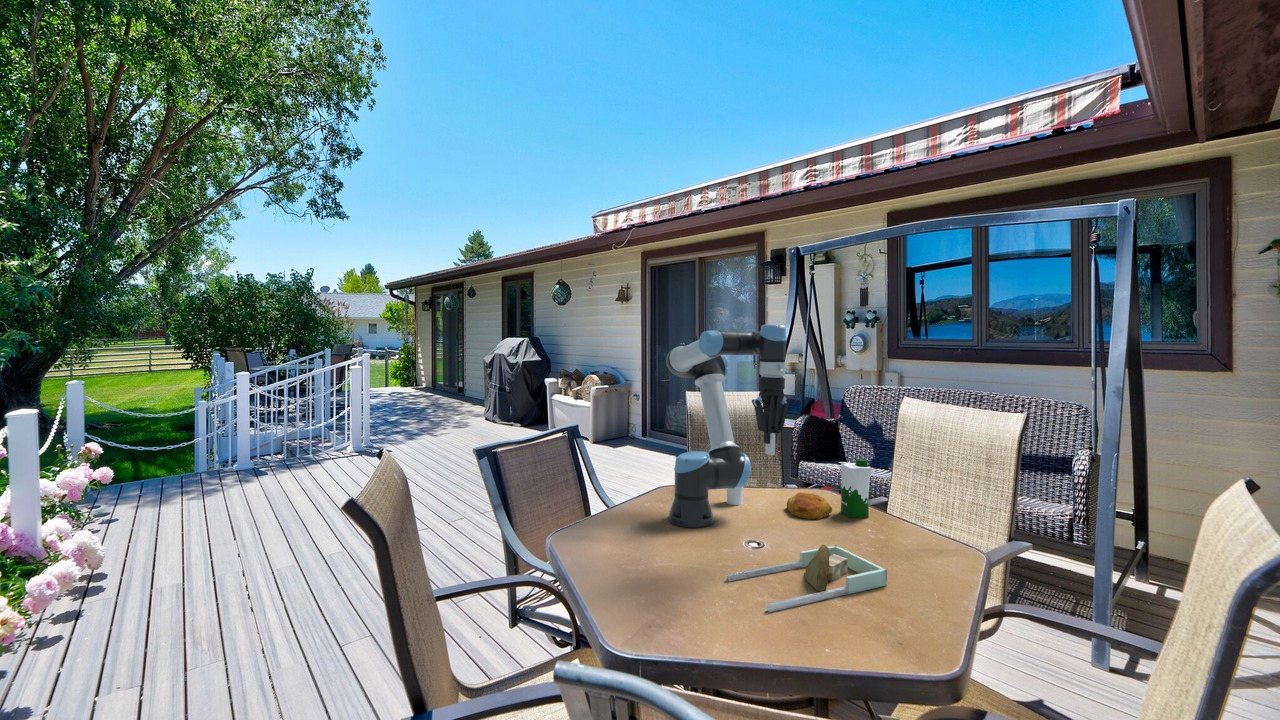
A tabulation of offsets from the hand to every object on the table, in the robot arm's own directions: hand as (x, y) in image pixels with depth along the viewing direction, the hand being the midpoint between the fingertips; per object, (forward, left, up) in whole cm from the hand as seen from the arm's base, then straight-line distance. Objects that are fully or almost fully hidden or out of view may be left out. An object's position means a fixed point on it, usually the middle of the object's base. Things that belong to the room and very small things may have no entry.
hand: (770, 454), depth 164 cm
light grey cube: (+13, -20, -29) cm, 37 cm away
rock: (+8, -24, -29) cm, 38 cm away
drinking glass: (-4, +44, -29) cm, 53 cm away
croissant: (+21, +34, -29) cm, 49 cm away
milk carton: (+38, +34, -29) cm, 59 cm away
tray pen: (+16, -19, -28) cm, 37 cm away
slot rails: (-1, -27, -28) cm, 39 cm away
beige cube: (+15, -17, -29) cm, 36 cm away
